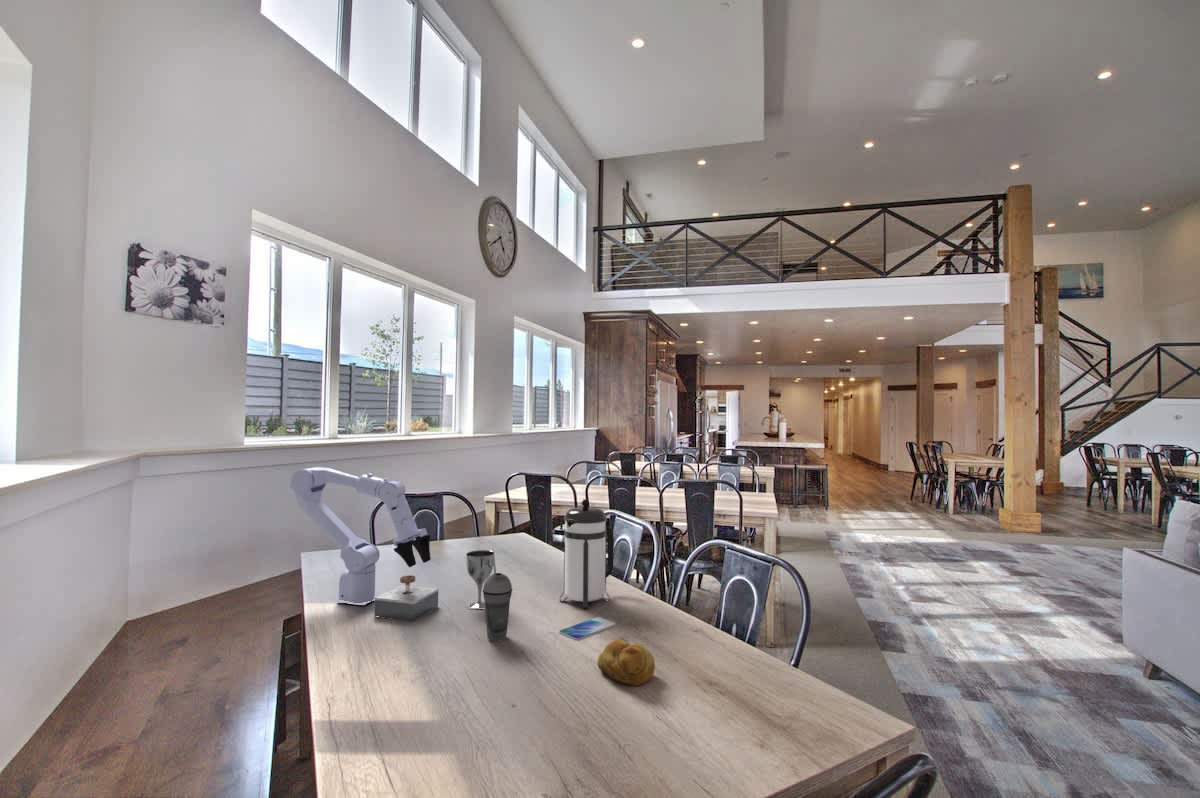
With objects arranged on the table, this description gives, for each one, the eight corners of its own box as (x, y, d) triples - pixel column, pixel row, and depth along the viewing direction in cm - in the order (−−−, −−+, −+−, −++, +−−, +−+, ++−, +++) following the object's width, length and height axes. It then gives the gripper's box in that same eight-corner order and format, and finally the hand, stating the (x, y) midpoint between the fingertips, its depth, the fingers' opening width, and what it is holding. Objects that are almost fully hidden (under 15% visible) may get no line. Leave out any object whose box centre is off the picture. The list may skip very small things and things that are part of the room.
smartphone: (618, 623, 145) (577, 639, 135) (618, 626, 145) (577, 642, 135) (598, 616, 150) (557, 630, 140) (598, 619, 150) (557, 634, 140)
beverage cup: (505, 644, 132) (506, 559, 133) (476, 642, 133) (478, 558, 134) (516, 633, 139) (517, 552, 140) (488, 631, 140) (490, 551, 141)
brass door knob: (381, 602, 151) (381, 580, 151) (402, 591, 160) (403, 571, 160) (412, 605, 148) (412, 583, 149) (432, 594, 158) (432, 574, 158)
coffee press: (613, 610, 157) (614, 503, 158) (557, 609, 157) (558, 502, 158) (613, 591, 174) (613, 495, 175) (562, 590, 174) (563, 494, 176)
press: (374, 616, 150) (374, 597, 150) (406, 600, 164) (406, 582, 164) (413, 621, 147) (413, 601, 147) (442, 604, 161) (442, 586, 161)
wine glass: (496, 602, 163) (497, 550, 163) (488, 611, 155) (489, 557, 156) (470, 601, 164) (471, 549, 164) (461, 610, 156) (462, 556, 156)
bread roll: (587, 673, 118) (587, 635, 118) (618, 659, 124) (618, 623, 125) (633, 694, 108) (633, 653, 109) (664, 678, 115) (664, 639, 116)
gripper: (428, 509, 162) (445, 553, 161) (401, 520, 170) (417, 562, 170) (408, 518, 156) (425, 563, 156) (381, 529, 165) (397, 572, 164)
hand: (419, 563), depth 162 cm, fingers open, 7 cm apart
